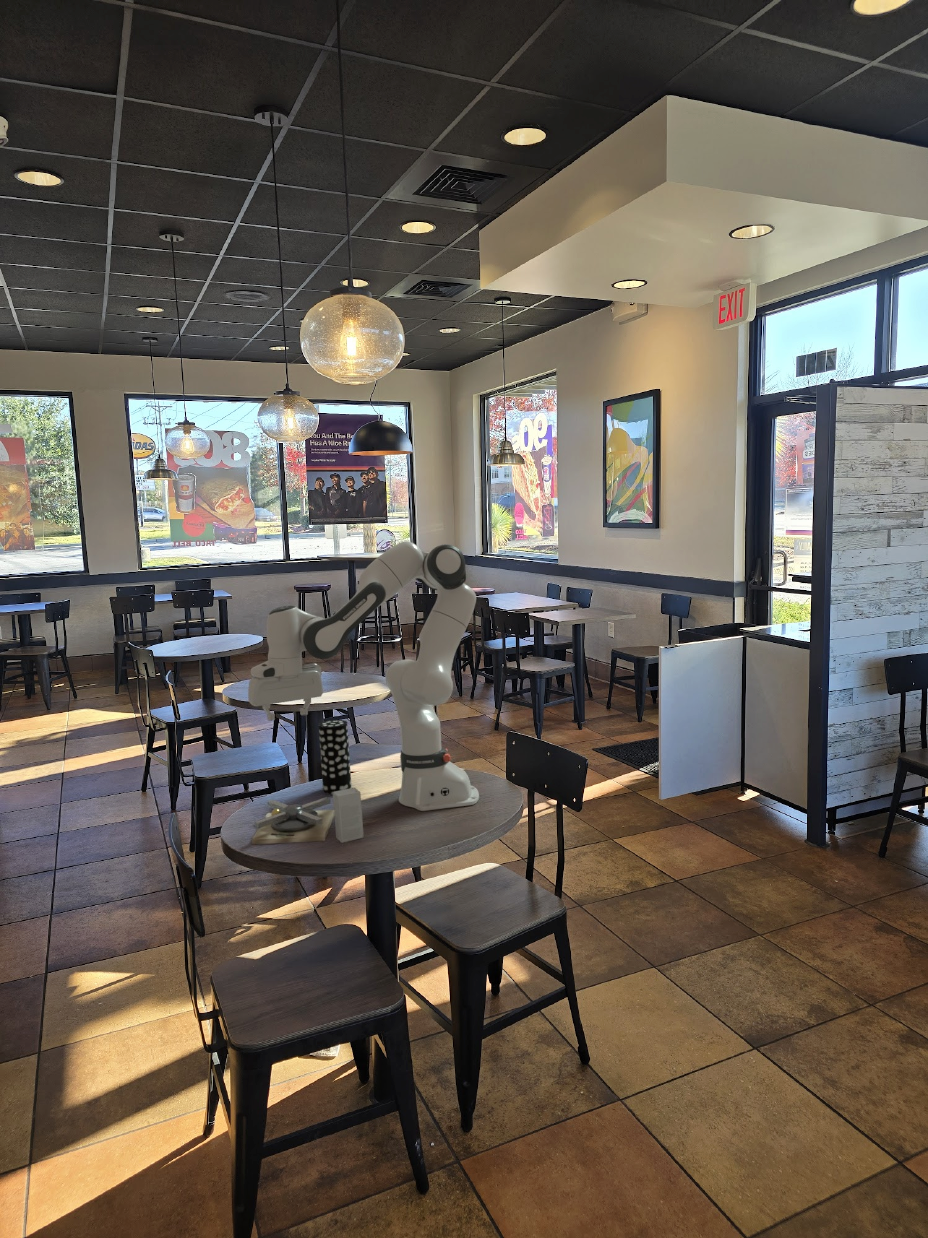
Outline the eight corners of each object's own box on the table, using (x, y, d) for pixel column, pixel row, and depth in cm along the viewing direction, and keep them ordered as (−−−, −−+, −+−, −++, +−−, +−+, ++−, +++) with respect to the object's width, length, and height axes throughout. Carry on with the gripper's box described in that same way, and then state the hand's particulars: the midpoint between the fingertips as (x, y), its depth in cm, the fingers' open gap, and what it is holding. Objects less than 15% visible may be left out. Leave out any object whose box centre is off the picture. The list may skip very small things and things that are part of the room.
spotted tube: (354, 784, 239) (350, 719, 237) (347, 794, 231) (343, 727, 228) (327, 785, 240) (322, 720, 237) (319, 794, 232) (315, 727, 229)
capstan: (331, 809, 215) (330, 794, 214) (322, 834, 198) (321, 817, 198) (269, 812, 214) (268, 797, 214) (254, 837, 198) (253, 821, 197)
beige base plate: (334, 814, 216) (334, 809, 215) (324, 840, 198) (324, 835, 198) (268, 817, 215) (267, 812, 215) (251, 844, 197) (251, 838, 197)
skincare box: (358, 832, 202) (355, 786, 201) (363, 838, 198) (361, 791, 197) (335, 837, 199) (332, 791, 198) (340, 843, 196) (337, 796, 194)
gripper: (316, 661, 222) (318, 709, 223) (244, 669, 210) (247, 721, 212) (326, 663, 217) (328, 713, 218) (253, 673, 205) (256, 725, 207)
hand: (287, 717), depth 215 cm, fingers open, 8 cm apart
